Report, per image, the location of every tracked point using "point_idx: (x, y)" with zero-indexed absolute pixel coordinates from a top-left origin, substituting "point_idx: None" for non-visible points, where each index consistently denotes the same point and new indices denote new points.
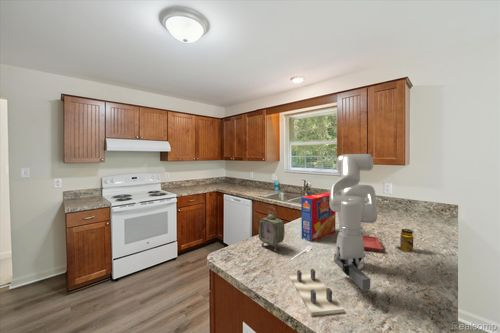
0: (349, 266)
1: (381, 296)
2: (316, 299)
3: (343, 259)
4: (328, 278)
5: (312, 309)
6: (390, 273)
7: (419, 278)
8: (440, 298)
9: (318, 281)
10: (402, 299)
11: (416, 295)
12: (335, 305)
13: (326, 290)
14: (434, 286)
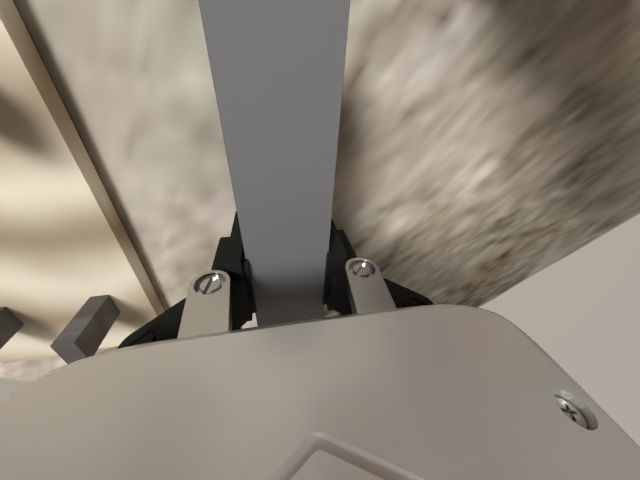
0: (265, 304)
1: (368, 258)
2: (25, 302)
3: (208, 322)
4: (158, 59)
5: (6, 350)
6: (586, 96)
7: (617, 166)
8: (517, 269)
9: (29, 135)
10: (419, 272)
11: (478, 257)
12: (133, 327)
13: (59, 336)
14: (583, 219)
